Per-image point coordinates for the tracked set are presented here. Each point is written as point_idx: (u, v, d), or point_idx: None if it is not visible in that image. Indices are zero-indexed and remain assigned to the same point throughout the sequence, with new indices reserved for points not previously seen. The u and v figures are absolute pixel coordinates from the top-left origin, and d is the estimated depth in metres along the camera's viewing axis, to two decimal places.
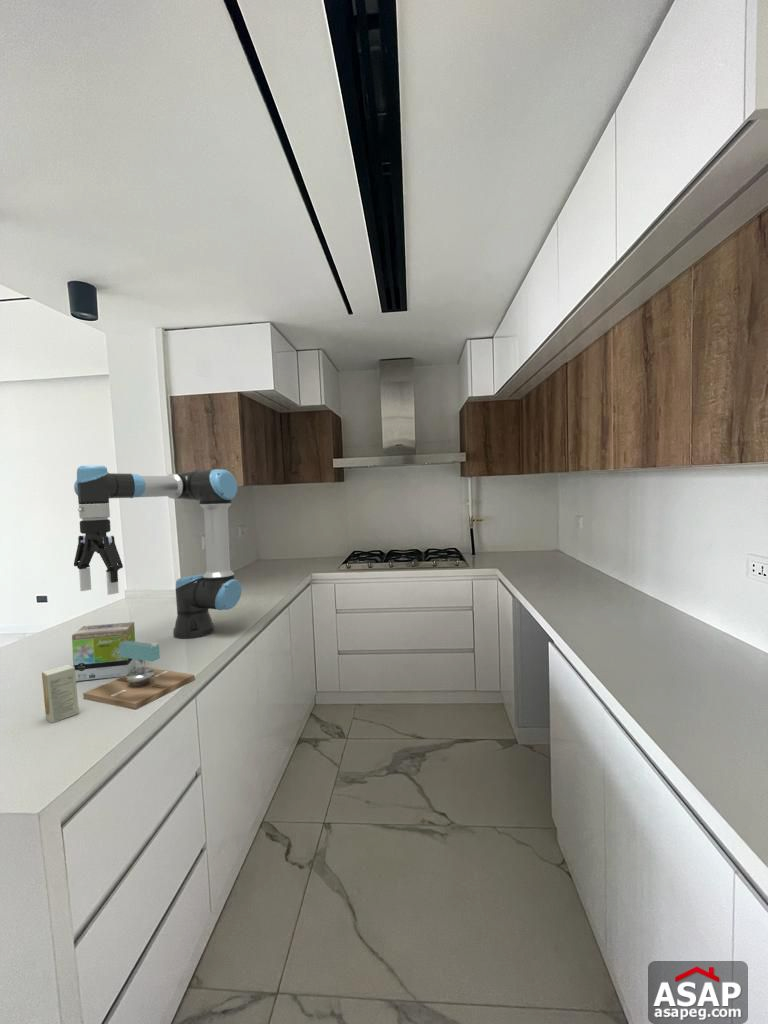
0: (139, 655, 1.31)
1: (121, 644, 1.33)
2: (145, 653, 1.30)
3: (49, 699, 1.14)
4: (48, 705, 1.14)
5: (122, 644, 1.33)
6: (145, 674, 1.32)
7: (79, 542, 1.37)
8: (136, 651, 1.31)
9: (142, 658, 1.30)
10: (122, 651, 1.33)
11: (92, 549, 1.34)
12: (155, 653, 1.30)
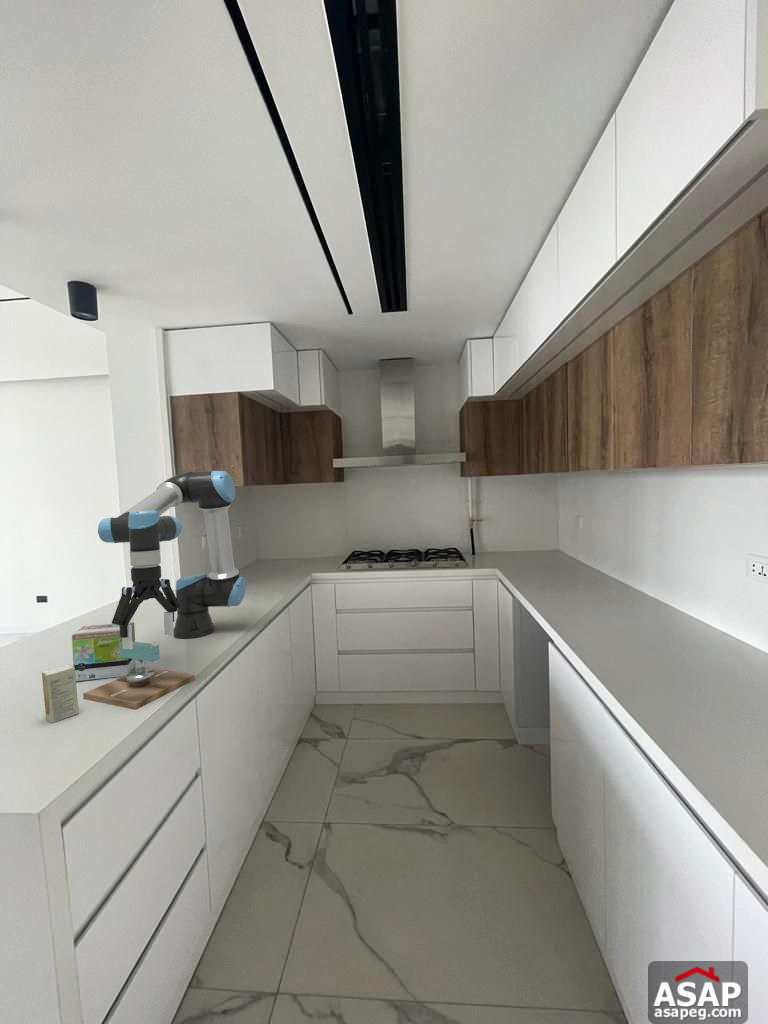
0: (139, 655, 1.31)
1: (121, 644, 1.33)
2: (145, 653, 1.30)
3: (49, 699, 1.14)
4: (48, 705, 1.14)
5: (122, 644, 1.33)
6: (145, 674, 1.32)
7: None
8: (136, 651, 1.31)
9: (142, 658, 1.30)
10: (122, 651, 1.33)
11: None
12: (155, 653, 1.30)
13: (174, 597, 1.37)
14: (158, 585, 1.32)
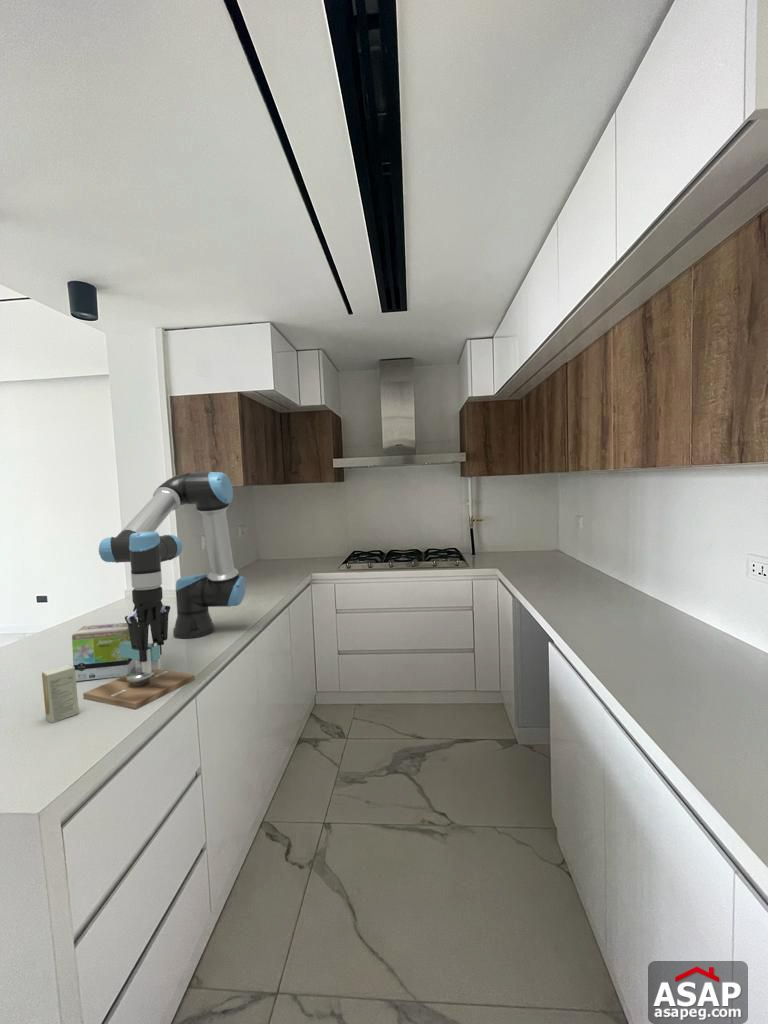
0: None
1: (121, 644, 1.33)
2: None
3: (49, 699, 1.14)
4: (48, 705, 1.14)
5: (122, 644, 1.33)
6: (145, 674, 1.32)
7: None
8: (136, 651, 1.31)
9: None
10: (122, 651, 1.33)
11: None
12: (155, 653, 1.30)
13: (166, 627, 1.34)
14: (159, 606, 1.32)
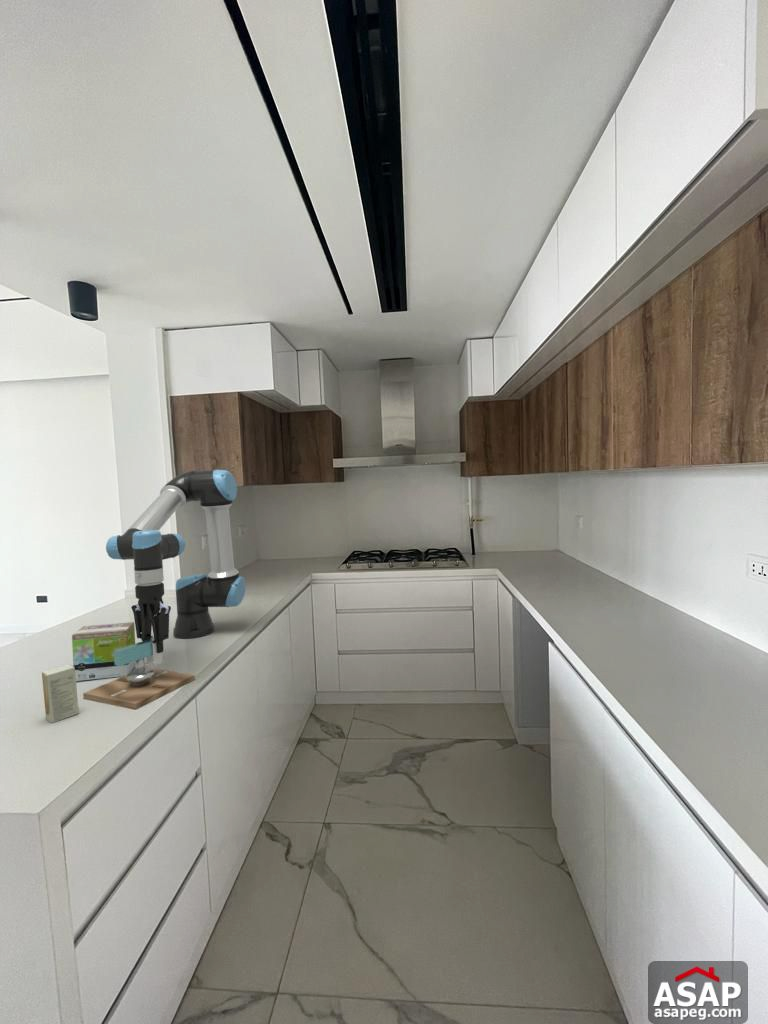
0: (146, 652, 1.33)
1: (122, 651, 1.27)
2: None
3: (49, 699, 1.14)
4: (48, 705, 1.14)
5: (124, 651, 1.27)
6: (148, 670, 1.35)
7: (134, 611, 1.37)
8: (143, 650, 1.32)
9: (150, 653, 1.34)
10: (124, 658, 1.27)
11: (147, 613, 1.35)
12: None
13: None
14: None
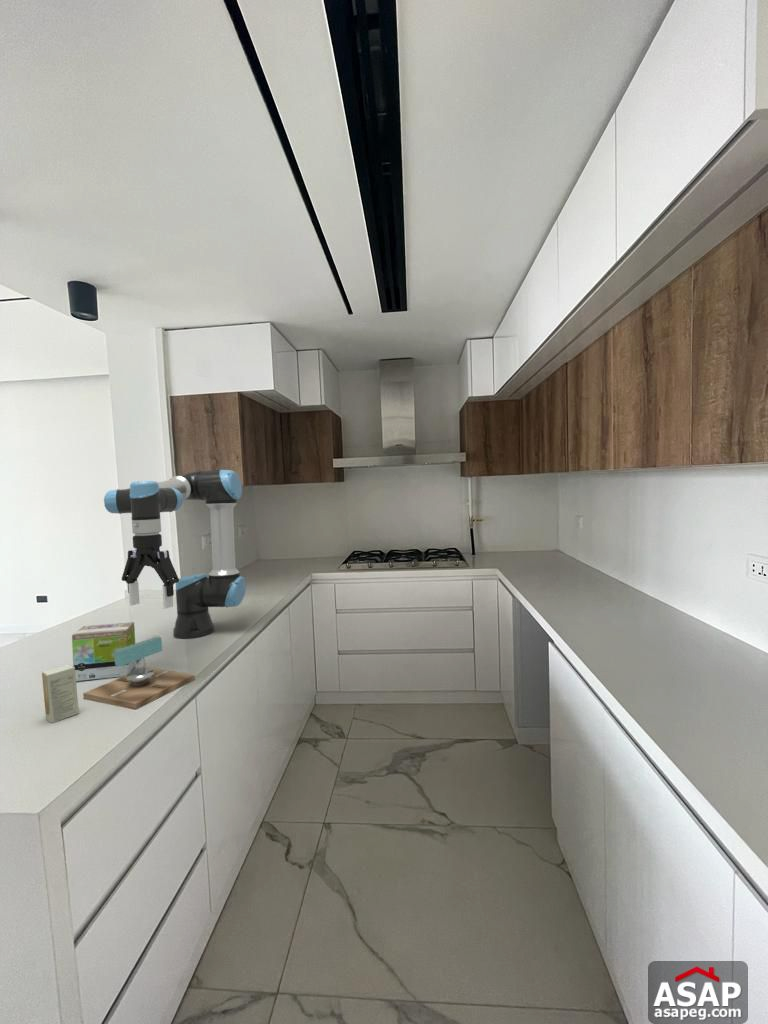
0: (146, 652, 1.33)
1: (123, 651, 1.27)
2: (154, 646, 1.35)
3: (49, 699, 1.14)
4: (48, 705, 1.14)
5: (124, 651, 1.27)
6: (147, 670, 1.35)
7: (129, 557, 1.37)
8: (143, 649, 1.32)
9: (150, 653, 1.34)
10: (124, 658, 1.27)
11: (145, 564, 1.35)
12: None
13: None
14: None
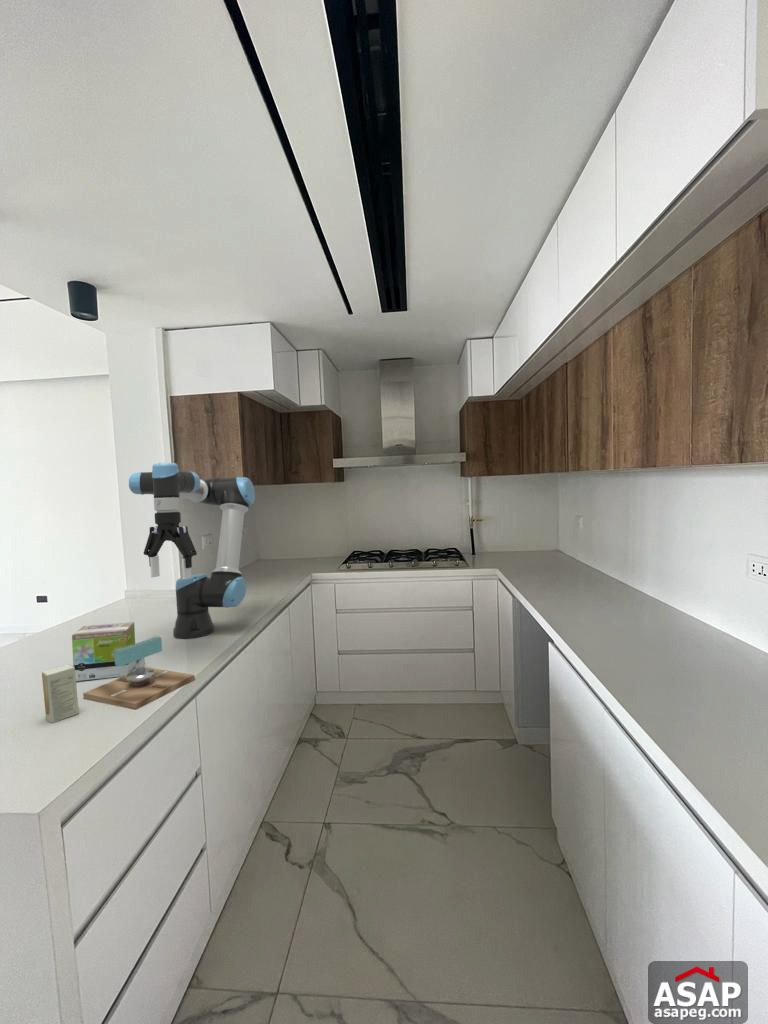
0: (146, 652, 1.33)
1: (123, 651, 1.27)
2: (154, 646, 1.35)
3: (49, 699, 1.14)
4: (48, 705, 1.14)
5: (124, 651, 1.27)
6: (147, 670, 1.35)
7: (150, 532, 1.50)
8: (143, 649, 1.32)
9: (150, 653, 1.34)
10: (124, 658, 1.27)
11: (165, 538, 1.48)
12: None
13: None
14: None
